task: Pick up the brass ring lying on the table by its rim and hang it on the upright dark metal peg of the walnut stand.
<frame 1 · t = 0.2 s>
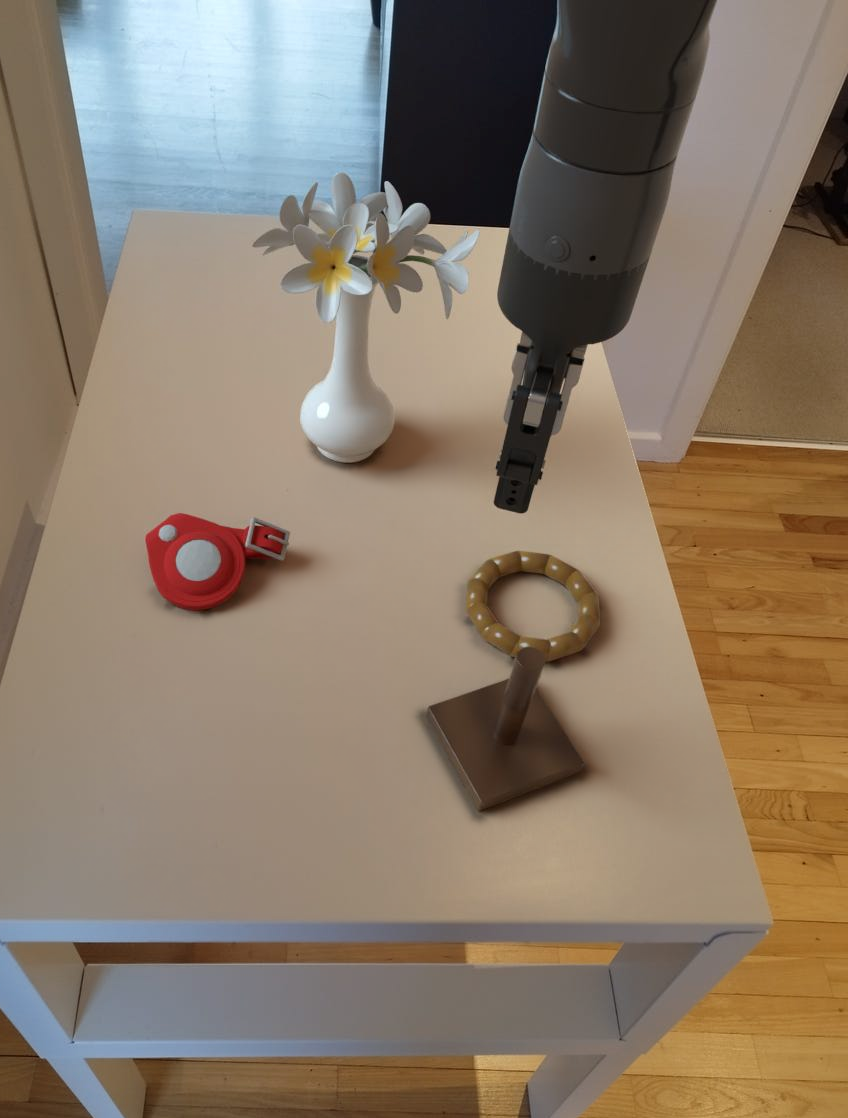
hand: (522, 464, 60), 21 cm above the table, tool pointing down, fingers open, 8 cm apart
tracker holder: (218, 572, 81), on the table
flower vase: (351, 441, 92), on the table
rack: (501, 743, 72), on the table
ring: (532, 603, 79), point 1 cm above the table
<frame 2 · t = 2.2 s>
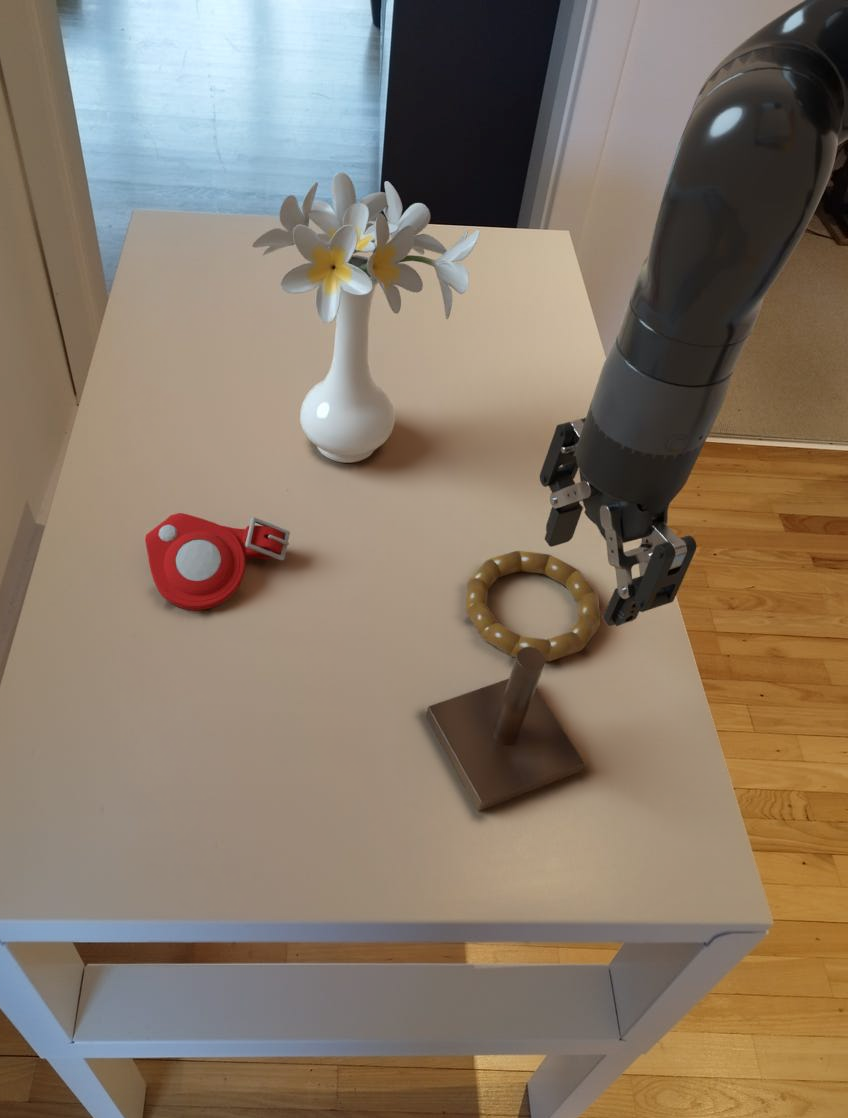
hand: (585, 579, 70), 9 cm above the table, tool pointing down, fingers open, 8 cm apart
nothing on the table moved.
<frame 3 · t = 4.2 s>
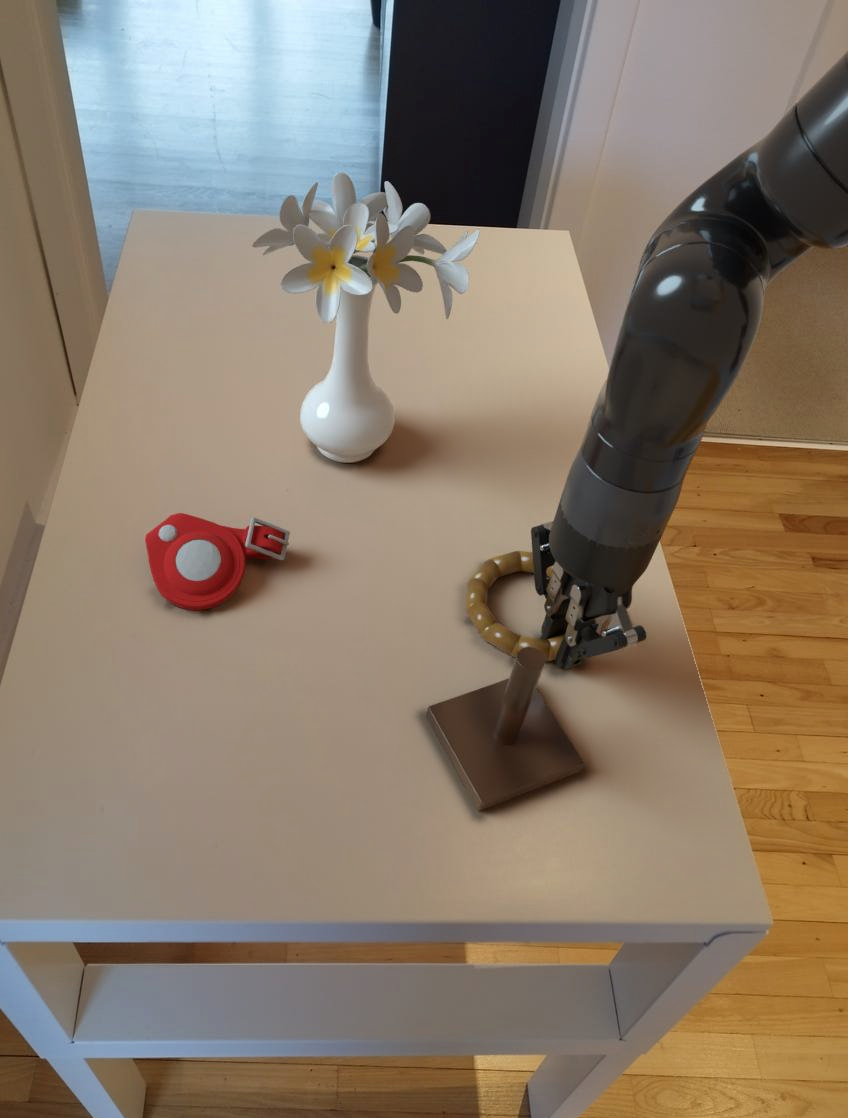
hand: (559, 651, 77), 0 cm above the table, tool pointing down, fingers closed on ring, 2 cm apart
ring: (532, 603, 79), point 1 cm above the table, touching gripper
everything else where it was.
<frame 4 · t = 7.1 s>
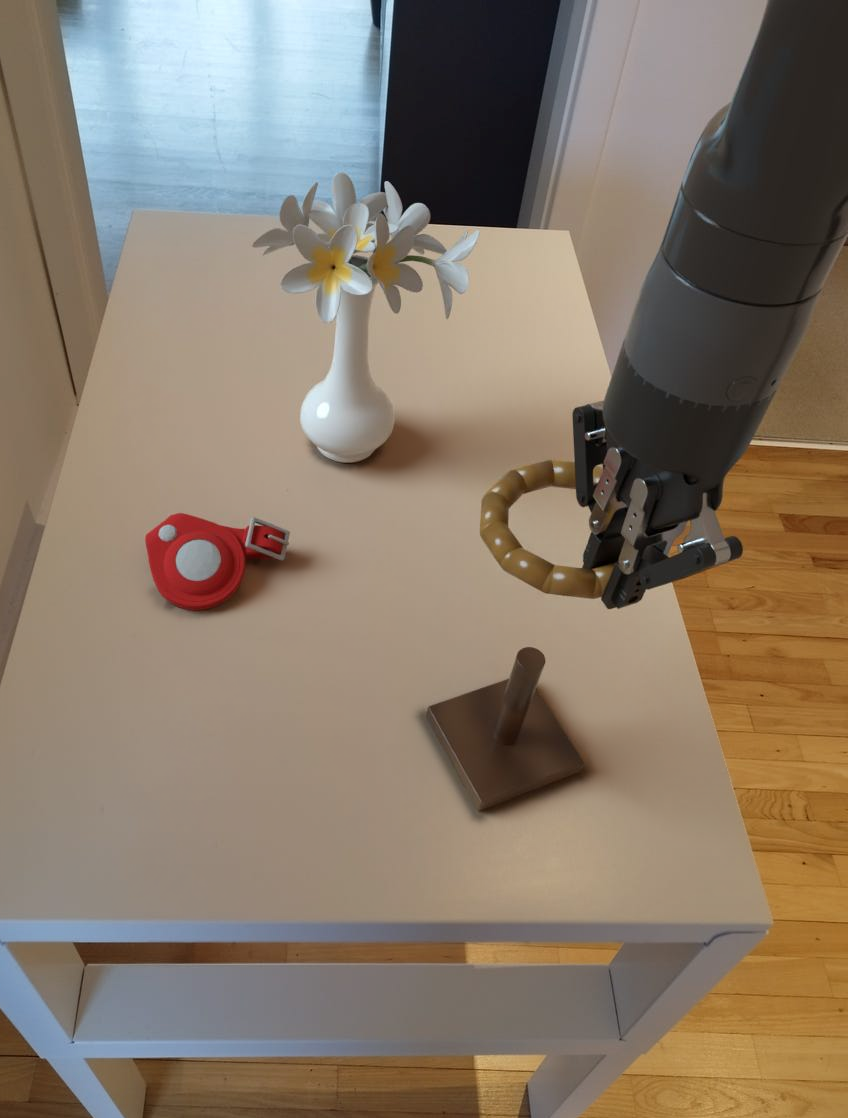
hand: (607, 587, 57), 19 cm above the table, tool pointing down, fingers closed on ring
ring: (570, 525, 59), point 20 cm above the table, touching gripper
everything else where it was.
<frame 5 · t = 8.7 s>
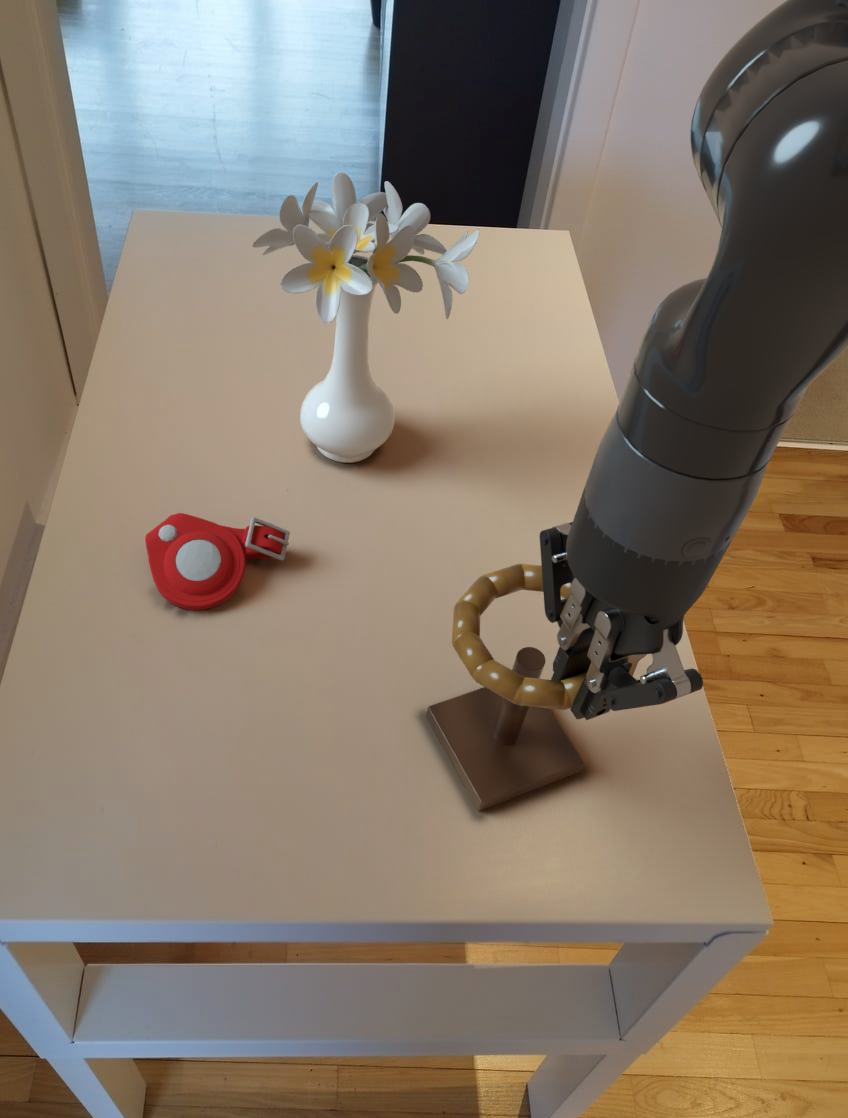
hand: (576, 695, 58), 14 cm above the table, tool pointing down, fingers closed on ring
ring: (540, 633, 60), point 14 cm above the table, touching gripper
everything else where it was.
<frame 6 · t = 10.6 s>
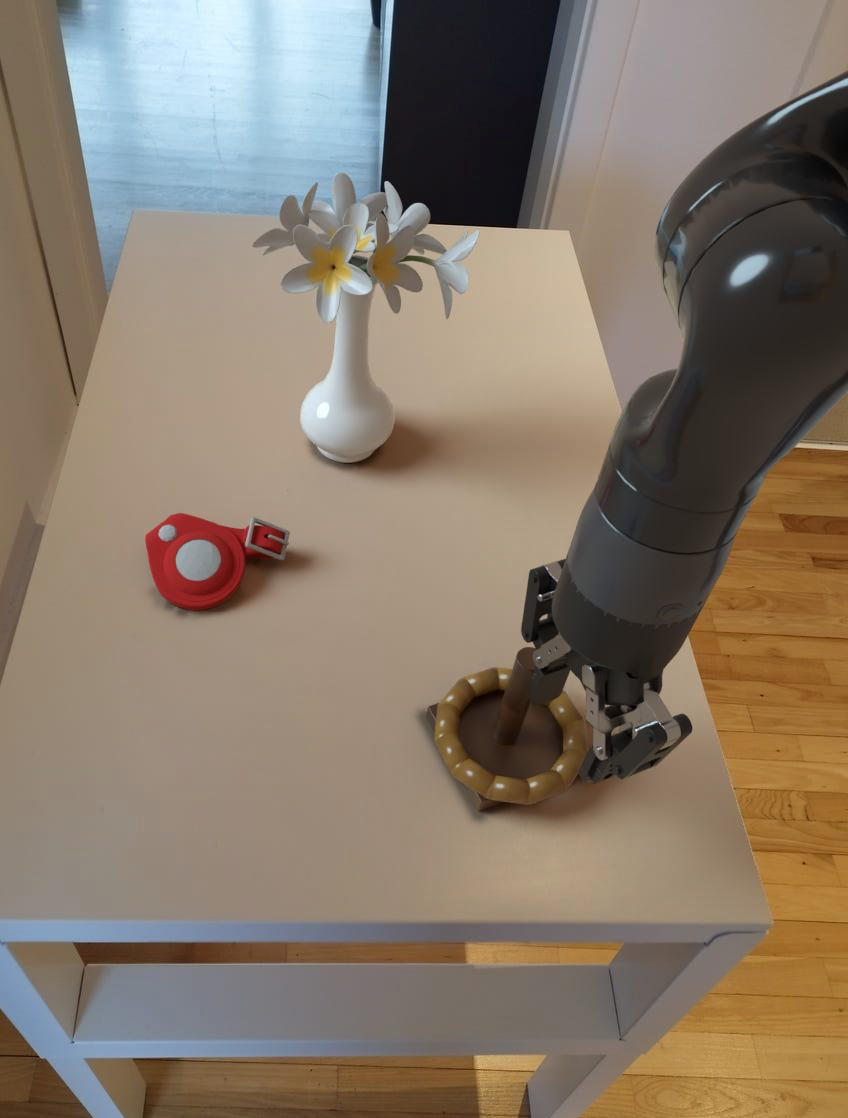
hand: (567, 734, 61), 10 cm above the table, tool pointing down, fingers open, 5 cm apart
ring: (511, 732, 69), point 2 cm above the table, touching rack
everything else where it was.
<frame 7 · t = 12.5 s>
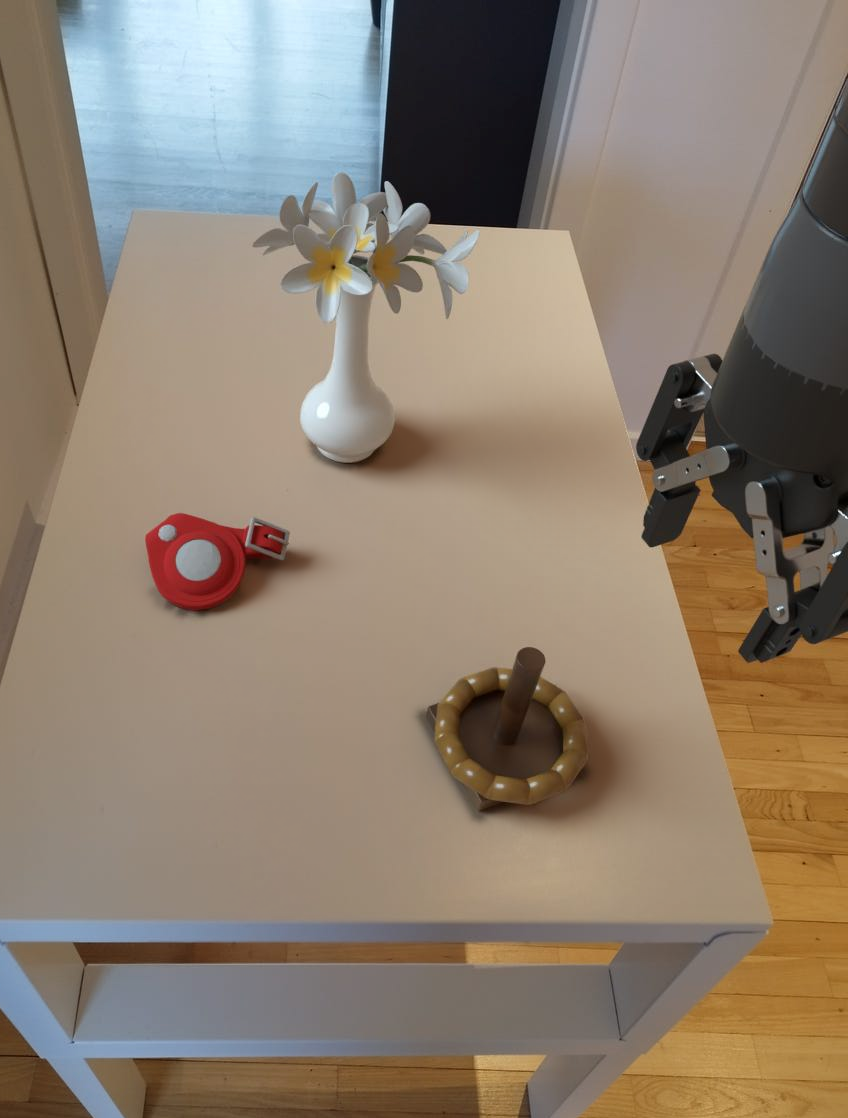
hand: (705, 593, 48), 25 cm above the table, tool pointing down, fingers open, 8 cm apart
nothing on the table moved.
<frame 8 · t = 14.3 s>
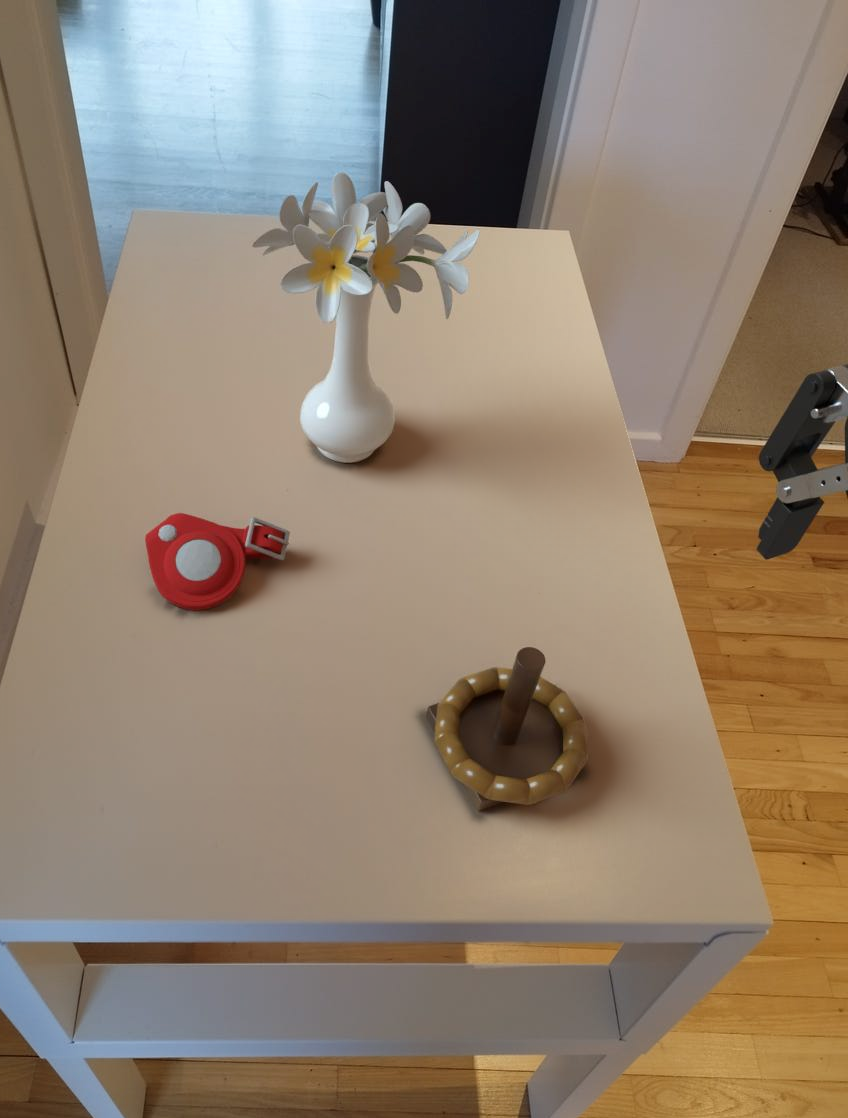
hand: (826, 608, 47), 26 cm above the table, tool pointing down, fingers open, 8 cm apart
nothing on the table moved.
at the end: ring 0.5 cm from the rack (horizontally); ring point 2.4 cm above the table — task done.
